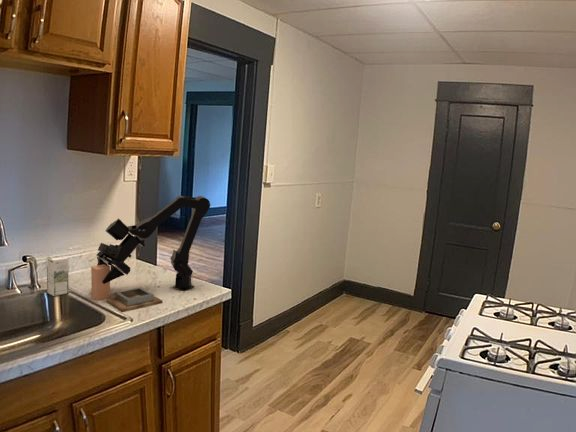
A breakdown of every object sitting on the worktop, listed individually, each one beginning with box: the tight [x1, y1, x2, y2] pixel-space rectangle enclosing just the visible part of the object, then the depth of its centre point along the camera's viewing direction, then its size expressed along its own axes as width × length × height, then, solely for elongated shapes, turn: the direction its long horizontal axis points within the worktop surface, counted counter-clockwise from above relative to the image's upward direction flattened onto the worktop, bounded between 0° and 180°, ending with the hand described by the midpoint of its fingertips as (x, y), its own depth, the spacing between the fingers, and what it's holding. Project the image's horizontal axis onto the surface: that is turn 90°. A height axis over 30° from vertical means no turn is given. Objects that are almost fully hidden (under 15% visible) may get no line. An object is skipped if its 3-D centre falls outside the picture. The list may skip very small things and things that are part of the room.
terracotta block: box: [90, 264, 111, 301], centre depth 176 cm, size 5×5×12 cm
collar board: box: [105, 287, 163, 313], centre depth 174 cm, size 16×13×4 cm
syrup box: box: [46, 254, 70, 297], centre depth 177 cm, size 6×6×14 cm
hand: (97, 280), depth 175 cm, fingers open, 9 cm apart
